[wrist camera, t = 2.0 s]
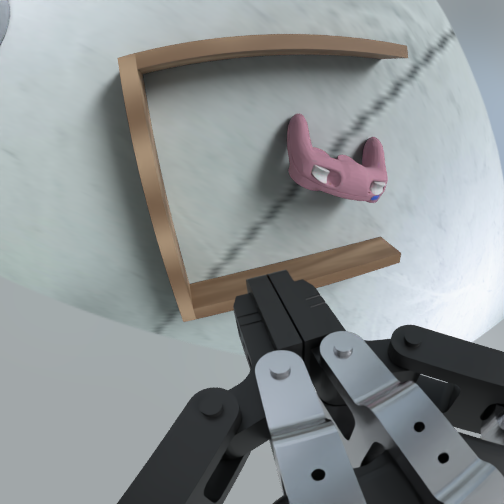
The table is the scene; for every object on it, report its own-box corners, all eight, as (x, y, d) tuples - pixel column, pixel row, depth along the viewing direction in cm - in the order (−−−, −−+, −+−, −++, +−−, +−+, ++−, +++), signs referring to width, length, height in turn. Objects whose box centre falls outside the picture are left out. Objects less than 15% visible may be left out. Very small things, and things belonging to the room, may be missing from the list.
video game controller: (272, 147, 27) (288, 201, 23) (290, 107, 23) (313, 155, 19) (358, 167, 30) (383, 217, 26) (379, 135, 26) (411, 182, 22)
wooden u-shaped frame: (126, 64, 19) (117, 58, 15) (380, 48, 22) (406, 45, 19) (180, 296, 30) (183, 322, 27) (379, 245, 34) (399, 262, 30)
